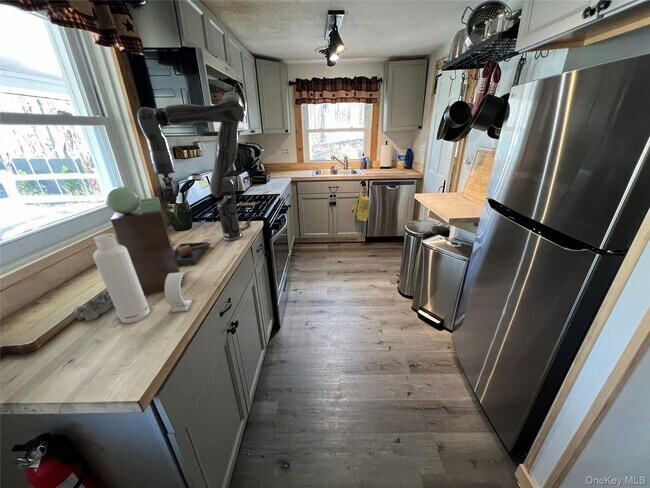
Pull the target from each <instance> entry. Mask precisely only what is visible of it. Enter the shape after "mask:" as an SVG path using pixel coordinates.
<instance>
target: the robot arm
mask: <svg viewBox="0 0 650 488" xmlns="http://www.w3.org/2000/svg"><path fill="white" fill-rule="evenodd" d="M136 117H137V121H138V124H139V127H140V129H141V131H142V133H143V135H144V137H145V139H146V144H147V147H148V150H149V154H150V155H149V156H150V159H151V163H152V167H153V170H154V173H155V175H162V177H161V181H162V183H163V186H164V189H165V190H166V191H165V192H166V193H167V195H168V200H169V203H174V202H176V200H177V199H176V194H175V190H174V188H175V185H174V179H173V176H171V174H175V173H176V169H175V164H174V161H173V157H172V154H171V151H170V148H169V144H168V140H167V137H166V136H165V135H164V134H163V132H162V128H164V127H169V126H179V125H186V124H195V123H220V124H219V129H218V133H217V135H216V136H217V137H216V143H215V150H214V161H213V168H212V173H211V177H210V182H209V191H210V193H211V195H212V196H213V197H215V198H222V197H223V199H222V200H221V201H219V202H218V203H217V205H216V206H217V210H218V216H219V221H220V227H221V230H222V236H223V240H224V241H236V240H238V239H240V238H241V237H242V234H241V231H243V230H246V229H248V228H249V227H251V224H250V221H251V220H254V219H258V218H260V217H262V216H263V215H264V214H265V212H264V211H262V212H261V214H262V215H261V214H260V215H257V216H254V217H253V216H252V217H250V218H249V219H248V220H247V222H246V224H247V226H245V227H241V226H240V222H239V217H238V212H237V206H236V203H237V199H236V191H235V185H234V182H233V180H232V178H230V177H226V176H225V175H226V174H227V173H228V171H229V170H230V169H231V168H232V167H233V166H234V163H235V161H236V159H237V153H238V142H239V141H238V134H239V133H238V130H239V123H240V122H241V121H242V120H243V119H244V117H245V105H244V101H243V99H242V97H241V96H240V95H239V94H238V93H236V92H234V91H228V92H226V93H224V94H223V95H222V96H221V98H220V103H216V104H213V105H199V104H194V103H193V104H192V103H178V104H171V105H170V104H169V105H166V106H164V107H156V108H152V107H147V106H143V107H140V108H139V109H138V110H137V113H136ZM263 212H264V213H263Z"/></svg>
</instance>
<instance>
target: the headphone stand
mask: <svg viewBox="0 0 650 488" xmlns="http://www.w3.org/2000/svg"><path fill="white" fill-rule="evenodd" d="M184 275H185V273H184V271H180V272H179V273H169V274H168V276H167V278H166V281H165V288H164V290H165V291H164V298H165V300H166V302H167V304H168V305H169V306H170V307H172V309H171V312H172V313H177V312H185V311H186V312H187V310H188V309H189V307H190V306H191V304H192V302H193V301H192V299H185V300H184V298H183V296H182V295H183V294H182V290H181V287H182V286H181V280H182V281H183V276H184Z"/></svg>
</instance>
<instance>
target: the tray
mask: <svg viewBox="0 0 650 488" xmlns="http://www.w3.org/2000/svg"><path fill="white" fill-rule="evenodd" d="M206 243H209V241H201V242H186V243H185V242H184V243H180V244H179V245H178V246H176V247H175V248H173V249H174V252H175V256H176V259H177V262H178V266H179V267H184V266H185V267H186V266H195V265H197V264H198V262H199V261H200V259H201V258H202V257H203V256H204V254H205V253H206V252H207V250H208V249H209V248H210V246H208V247H204V248H201V249H197V250H193V251H192V254H191V255H188V256H184V257H180V255H179V252H178V248H179V247H183V246H186V245H190V247H191V248H192V247H195V246H199V245H203V244H206Z"/></svg>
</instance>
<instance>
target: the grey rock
mask: <svg viewBox="0 0 650 488" xmlns="http://www.w3.org/2000/svg"><path fill="white" fill-rule="evenodd" d="M112 307H115V306H114V304H113V302H112V299H111V297H110V295H109V293H105V292H101V293H99V294H98V295H97V296H95V297H93V298H92V299H91V298H89V300H88V301H86V302H84V303H83V304H81V305H79V306H76V307H75V308H73V310H72V314H75V316H76V318H77V319H78V320H80V321H81V320H83V319H85V320H86V321H87V322H90V321H92V320H96V319H97V318H99V315H101V314H105V313H107V312H108V311H109V309H110V308H112Z"/></svg>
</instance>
